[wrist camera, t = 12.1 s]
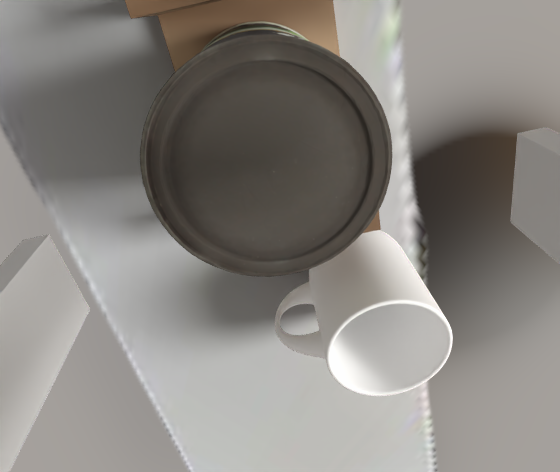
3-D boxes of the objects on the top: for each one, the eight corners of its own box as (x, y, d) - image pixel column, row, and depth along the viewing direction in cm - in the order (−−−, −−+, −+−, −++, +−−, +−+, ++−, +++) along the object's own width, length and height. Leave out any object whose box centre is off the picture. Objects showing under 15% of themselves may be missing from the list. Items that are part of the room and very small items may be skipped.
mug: (259, 246, 36) (262, 330, 27) (397, 212, 36) (450, 287, 26) (282, 321, 41) (292, 417, 31) (406, 292, 40) (455, 381, 31)
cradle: (152, -13, 27) (106, -20, 18) (323, -53, 27) (360, -81, 18) (220, 212, 35) (210, 282, 26) (353, 183, 34) (389, 245, 26)
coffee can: (263, -19, 26) (277, -37, 14) (362, 106, 30) (440, 178, 18) (153, 98, 29) (84, 169, 17) (256, 198, 33) (262, 314, 21)
